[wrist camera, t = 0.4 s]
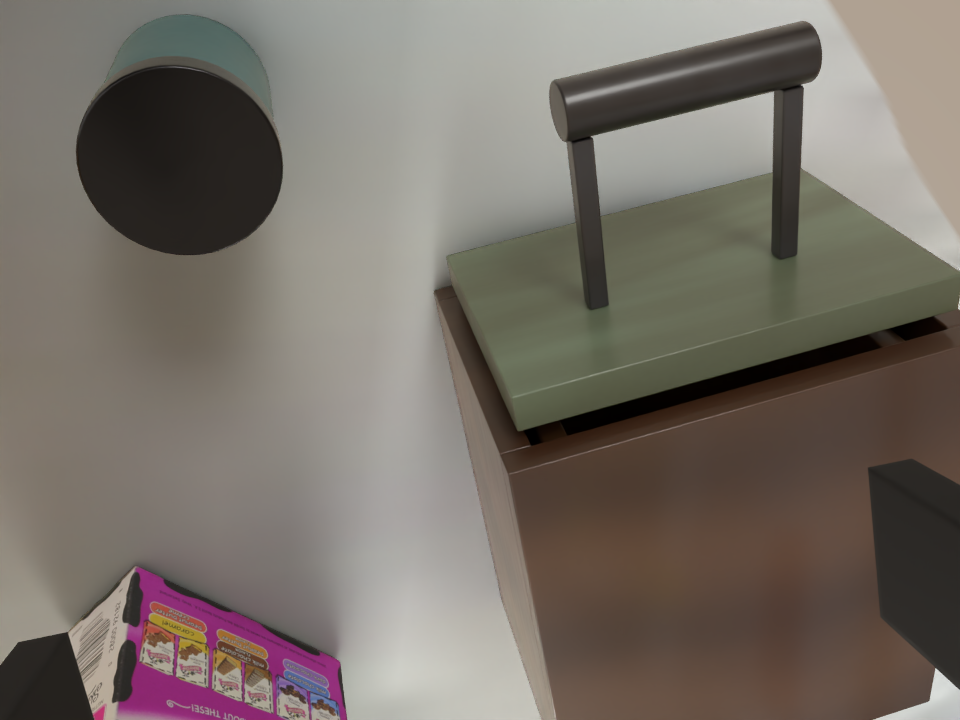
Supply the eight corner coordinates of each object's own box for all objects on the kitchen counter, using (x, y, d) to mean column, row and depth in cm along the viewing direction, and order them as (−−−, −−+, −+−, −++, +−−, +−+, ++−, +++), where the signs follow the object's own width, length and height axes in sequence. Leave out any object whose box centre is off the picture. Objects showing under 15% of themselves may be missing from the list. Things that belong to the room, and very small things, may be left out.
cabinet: (433, 289, 33) (507, 474, 24) (798, 195, 34) (998, 335, 25) (501, 600, 42) (574, 817, 33) (786, 515, 43) (929, 701, 34)
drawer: (404, 56, 27) (467, 152, 20) (805, -36, 29) (1003, 21, 21) (510, 568, 40) (573, 744, 32) (786, 487, 41) (907, 638, 34)
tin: (80, 30, 26) (40, 92, 20) (246, -6, 26) (249, 44, 21) (143, 186, 28) (121, 276, 23) (292, 150, 29) (305, 230, 24)
